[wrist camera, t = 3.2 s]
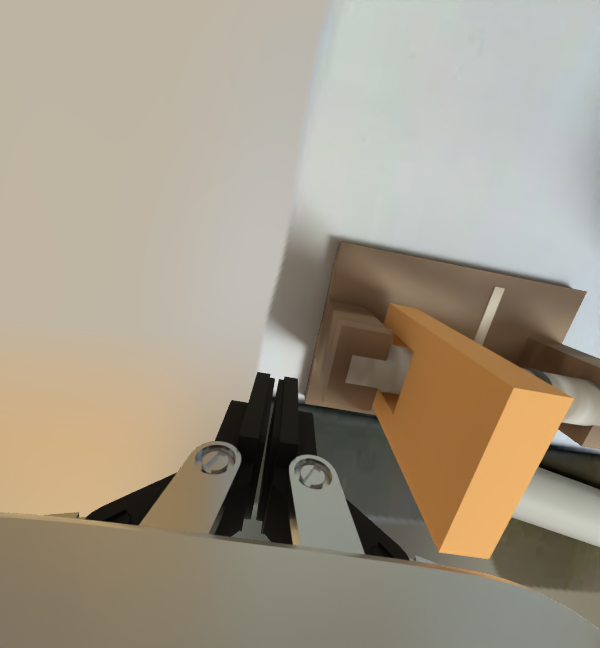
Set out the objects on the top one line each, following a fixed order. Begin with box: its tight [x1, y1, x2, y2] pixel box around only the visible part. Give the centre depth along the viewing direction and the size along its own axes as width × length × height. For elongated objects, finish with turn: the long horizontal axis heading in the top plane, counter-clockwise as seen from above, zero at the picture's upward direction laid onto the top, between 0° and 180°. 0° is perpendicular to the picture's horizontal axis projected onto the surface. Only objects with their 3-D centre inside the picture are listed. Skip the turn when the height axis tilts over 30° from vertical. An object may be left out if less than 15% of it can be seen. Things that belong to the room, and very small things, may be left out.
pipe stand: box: [305, 242, 600, 449], centre depth 21 cm, size 14×20×9 cm
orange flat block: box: [373, 303, 574, 559], centre depth 15 cm, size 7×2×12 cm, turn 169°
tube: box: [512, 467, 600, 547], centre depth 27 cm, size 5×5×25 cm
